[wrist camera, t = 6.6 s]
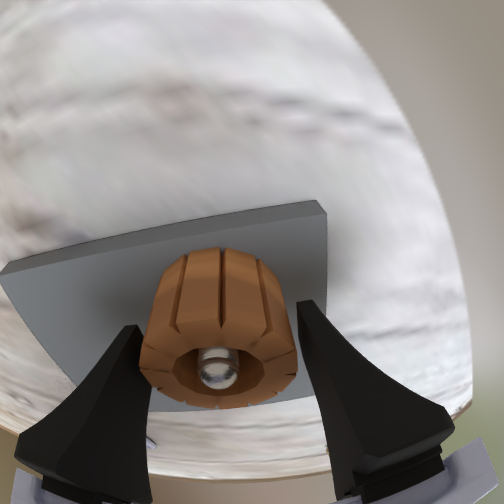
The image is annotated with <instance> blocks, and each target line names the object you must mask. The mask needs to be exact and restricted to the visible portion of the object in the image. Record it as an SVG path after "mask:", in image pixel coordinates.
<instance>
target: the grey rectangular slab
mask: <svg viewBox="0 0 504 504" xmlns="http://www.w3.org/2000/svg"><path fill="white" fill-rule="evenodd" d="M214 247H220V251H221V255H223V253H224V250H225V248H226V247H228V248H231V249H234V250H238V251H241V252H244V253H248V254H251V255H254V256H255V260H256V261H257V260H258V259H261V260H262V261H263V263H264V264H265V265H266V266H267V267H268V268H269V269H270V270H271V271H272V272H273V273H274V274H275V275H276V276H277V278H278V281H279V283H280V286H281V290H282V294H283V298H284V302H285V306H286V310H287V314H288V317H289V321H290V325H291V329H292V333H293V337H294V341H295V345H296V349H297V357H298V372H296V377H295V378H294V379H293V380H292V382H291V383H290V384H289V385H288V386H287V387H286V388H285V389H284V390H283V392H277V393H278V395H277V396H274V397H272V398H270V399H267V400H265V401H263V402H260V403H258V404H255V405H263V404H269V403H276V402H282V401H288V400H293V399H298V398H304V397H308V396H313V395H315V393H314V390H313V387H312V384H311V381H310V378H309V375H308V372H307V369H306V366H305V363H304V360H303V357H302V352H301V348H300V343H299V339H298V326H297V307H296V302H300V301H305V300H310V299H312V300H313V301H314V302H315V303H316V304H317V306H318V307H319V309H320V310H321V311H322V313H323V314H324V315H325V316H326V299H327V213H326V212H325V211H324V209H323V208H322V207H321V206H320V204H319V203H318V202H317V201H316V200H313V201H306V202H299V203H292V204H285V205H279V206H272V207H266V208H260V209H253V210H247V211H241V212H235V213H230V214H224V215H218V216H213V217H207V218H202V219H196V220H191V221H186V222H180V223H175V224H170V225H165V226H160V227H155V228H150V229H145V230H141V231H136V232H131V233H127V234H122V235H117V236H113V237H109V238H104V239H100V240H95V241H91V242H87V243H83V244H78V245H74V246H70V247H66V248H62V249H58V250H54V251H50V252H46V253H43V254H39V255H35V256H31V257H28V258H24V259H20V260H17V261H13V262H9V263H8V264H7V265H6V266H5V267H4V268H3V270H2V271H1V272H0V284H1V286H2V288H3V289H4V291H5V293H6V294H7V296H8V298H9V299H10V301H11V303H12V304H13V306H14V307H15V309H16V310H17V312H18V313H19V315H20V316H21V318H22V319H23V321H24V322H25V324H26V325H27V327H28V328H29V329H30V331H31V332H32V333H33V335H34V336H35V338H36V339H37V340H38V341H39V343H40V344H41V345H42V347H43V348H44V349H45V350H46V352H47V353H48V354H49V355H50V357H51V358H52V359H53V360H54V361H55V363H56V364H57V365H58V366H59V367H60V368H61V370H62V371H63V372H64V373H65V374H66V375H67V376H68V377H69V378H70V380H71V381H72V382H73V383H74V384H75V385H76V386H77V387H78V386H79V384H80V383H81V382H82V381H83V380H84V379H85V377H86V376H87V375H88V373H89V372H90V371H91V370H92V368H93V367H94V366H95V365H96V363H97V362H98V361H99V359H100V358H101V357H102V355H103V354H104V353H105V351H106V350H107V349H108V347H109V346H110V344H111V343H112V342H113V340H114V339H115V338H116V336H117V335H118V334H119V332H120V331H121V330H122V329H123V327H124V326H125V325H135V324H137V325H138V327H139V328H140V330H141V332H142V334H143V335H145V331H146V328H147V324H148V320H149V316H150V313H151V309H152V305H153V302H154V298H155V295H156V292H157V288H158V285H159V281H160V278H161V275H163V273H164V270H165V269H167V268H168V267H169V266H170V265H171V264H173V263H174V262H175V261H176V260H177V259H179V258H180V257H181V256H182V255H186V256H187V257H188V256H189V252H191V251H197V250H202V249H208V248H214ZM255 405H252V404H250V403H248V406H255ZM217 409H219V407H218V405H217V406H216V407H215V409H209V408H202V407H197V406H191V405H186V401H184V402H181V403H180V402H178V401H176V400H174V399H172V398H170V397H168V396H166V395H164V394H162V393H160V392H158V391H157V388H153V387H152V391H151V397H150V403H149V410H148V412H179V411H203V410H217Z"/></svg>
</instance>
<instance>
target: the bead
mask: <svg viewBox="0 0 504 504" xmlns="http://www.w3.org/2000/svg"><path fill="white" fill-rule="evenodd" d="M213 346H224V347H229V348H234V349H238V357H239V375H238V378H237V380H236V381H235V382H234V383H233V384H232V385H231V386H229V387H228V388H225V389H213V388H210V387H208V386H206V385H205V384H204V383H203V382H202V381H201V379H200V378H199V375H198V371H197V367H198V350H199V348H204V347H213ZM139 366H140V367H141V368H140V371H141V372H142V374H143V375H144V376H145V378H146V379H147V380H148V382H149V383H150V384H151V386H152V387H153V388H157V391H158V392H160V393H162V394H164V395H166V396H168V397H170V398H172V399H174V400H176V401H178V402H180V403H181V402H184V401H186V405H191V406H197V407H202V408H209V409H215V407H216V406H217V405H218V407H219V409H231V408H240V407H248V403H250V404H252V405H255V404H258V403H260V402H263V401H265V400H267V399H270V398H272V397H274V396H277V395H278V393H277V392H283V390H284V389H285V388H286V387H287V386H288V385H289V384H290V383H291V382H292V380H293V379H294V378H295V377H296V372H298V357H297V349H296V345H295V341H294V337H293V333H292V329H291V325H290V321H289V317H288V314H287V310H286V306H285V302H284V298H283V294H282V290H281V286H280V283H279V281H278V278H277V276H276V275H275V274H274V273H273V272H272V271H271V270H270V269H269V268H268V267H267V266H266V265H265V264H264V263H263V261H262V260H261V259H258V260H257V261H256V260H255V256H254V255H251V254H248V253H244V252H241V251H238V250H234V249H231V248H228V247H226V248H225V250H224V253H223V255H221V251H220V247H214V248H208V249H202V250H197V251H191V252H189V256H188V257H187V256H186V255H182V256H181V257H180V258H179V259H177V260H176V261H175V262H174V263H173V264H171V265H170V266H169V267H168V268H167V269H165V270H164V273H163V275H161V278H160V281H159V285H158V288H157V292H156V295H155V298H154V302H153V305H152V309H151V313H150V316H149V320H148V324H147V328H146V331H145V335H144V339H143V343H142V348H141V354H140V361H139Z"/></svg>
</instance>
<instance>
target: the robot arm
mask: <svg viewBox="0 0 504 504" xmlns="http://www.w3.org/2000/svg"><path fill="white" fill-rule="evenodd" d="M296 307H297V326H298V339H299V343H300V348H301V352H302V357H303V360H304V363H305V366H306V369H307V372H308V375H309V378H310V381H311V384H312V387H313V390H314V393H315V395H316V398H317V401H318V405H319V408H320V412H321V417H322V421H323V426H324V431H325V436H326V441H327V446H328V451H329V457H330V463H331V468H332V475H333V482H334V488H335V495H336V499H337V501H338V502H334V503H329V504H474V503H475V502H477V501H478V500H479V499H481V498H482V497H483V496H485V495H486V494H487V493H489V492H490V491H491V490H493V489H494V488H495V487H496V486H498V484H499V482H498V479H497V476H496V473H495V471H494V468H493V465H492V463H491V460H490V458H489V455H488V453H487V450H486V448H485V445H484V443H483V441H482V439H481V437H478V438H476V439H475V440H473V441H471V442H470V443H468V444H467V445H465V446H464V447H462V448H460V449H459V450H457V451H455V452H454V453H452V454H451V455H449V456H448V457H446V459H444V460H442V459H441V456H440V453H442V448H441V446H440V444H441V443H442V442H443V441H444V440H445V439H447V438H448V437H449V436H450V435H451V434H452V433H453V432H454V430H455V426H454V424H453V421H452V419H451V417H450V415H449V414H448V412H447V411H446V409H445V408H444V407H443V406H441V405H439V404H436V403H434V402H432V401H430V400H428V399H426V398H424V397H422V396H420V395H418V394H417V393H415V392H413V391H411V390H409V389H408V388H406V387H405V386H403V385H401V384H400V383H398V382H397V381H395V380H394V379H392V378H391V377H389V376H388V375H386V374H385V373H384V372H382V371H381V370H380V369H378V368H377V367H376V366H375V365H373V364H372V363H371V362H370V361H368V360H367V359H366V358H365V357H364V356H363V355H362V354H361V353H359V352H358V351H357V350H356V349H355V348H354V347H353V346H352V345H351V344H350V343H349V342H348V341H347V340H346V339H345V338H344V337H343V336H342V335H341V334H340V332H339V331H338V330H337V329H336V328H335V327H334V326H333V325H332V324H331V322H330V321H329V320H328V319H327V318H326V316H325V315H324V314H323V313H322V311H321V310H320V309H319V307H318V306H317V304H316V303H315V302H314V301H313V300H312V299H310V300H305V301H300V302H296ZM143 339H144V335H143V334H142V332H141V330H140V328H139V327H138V325H137V324H135V325H125V326H124V327H123V329H122V330H121V331H120V332H119V334H118V335H117V336H116V338H115V339H114V340H113V342H112V343H111V344H110V346H109V347H108V349H107V350H106V351H105V353H104V354H103V355H102V357H101V358H100V359H99V361H98V362H97V363H96V365H95V366H94V367H93V368H92V370H91V371H90V372H89V373H88V375H87V376H86V377H85V379H84V380H83V381H82V382H81V383H80V384H79V386H78V387H77V388H76V389H75V390H74V391H73V392H72V393H71V394H70V395H69V396H68V397H67V398H66V399H65V400H64V401H63V402H62V403H61V404H60V405H59V406H58V407H56V408H55V409H54V410H53V411H52V412H51V413H50V414H48V415H47V416H46V417H44V418H43V419H42V420H40V421H39V422H38V423H36V424H35V425H33V426H32V427H30V428H29V429H27V430H25V431H24V432H22V433H20V435H19V438H18V442H17V446H16V450H15V454H14V457H15V458H16V459H17V460H18V461H20V462H21V463H23V464H24V465H26V466H28V467H29V468H31V469H33V470H35V471H36V472H38V473H40V474H42V475H43V480H41V479H39V478H37V477H35V476H33V475H31V474H29V473H27V472H25V471H23V470H21V469H19V468H17V470H16V474H15V480H14V485H13V490H12V497H11V504H151V503H152V501H153V500H152V495H151V489H150V483H149V476H148V467H147V451H146V448H149V449H156V447H157V446H156V445H155V444H154V443H153V442H152V441H150V440H149V439H148V438H147V437H146V426H147V416H148V410H149V403H150V397H151V391H152V386H151V384H150V383H149V382H148V380H147V379H146V378H145V376H144V375H143V374H142V372H141V371H140V368H141V367H140V366H139V361H140V354H141V348H142V343H143ZM351 497H352V498H351ZM348 498H349V499H348ZM344 499H345V500H344ZM340 500H341V501H340Z"/></svg>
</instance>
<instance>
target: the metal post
mask: <svg viewBox="0 0 504 504" xmlns="http://www.w3.org/2000/svg"><path fill="white" fill-rule="evenodd" d="M197 371H198V375H199V378H200V379H201V381H202V382H203V383H204V384H205V385H206V386H208V387H210V388H213V389H225V388H228V387H229V386H231V385H232V384H233V383H234V382H235V381H236V380H237V378H238V375H239V357H238V349H234V348H229V347H224V346H213V347H204V348H199V350H198V367H197Z"/></svg>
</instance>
